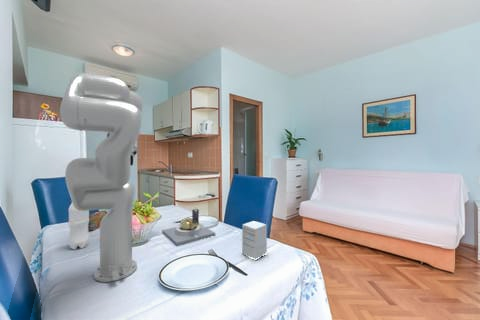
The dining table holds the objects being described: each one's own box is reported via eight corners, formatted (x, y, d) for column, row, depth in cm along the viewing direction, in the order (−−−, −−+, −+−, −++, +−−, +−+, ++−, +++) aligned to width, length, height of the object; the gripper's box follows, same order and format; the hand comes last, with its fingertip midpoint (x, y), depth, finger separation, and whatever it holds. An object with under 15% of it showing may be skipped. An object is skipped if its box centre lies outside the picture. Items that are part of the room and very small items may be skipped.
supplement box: (253, 249, 89) (253, 220, 89) (267, 255, 84) (267, 224, 83) (241, 254, 84) (241, 224, 83) (255, 261, 78) (255, 228, 78)
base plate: (215, 235, 103) (215, 228, 103) (176, 246, 91) (176, 238, 91) (197, 225, 119) (197, 219, 119) (162, 232, 107) (162, 226, 107)
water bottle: (67, 246, 89) (67, 189, 89) (87, 242, 95) (87, 188, 94) (70, 252, 85) (69, 191, 84) (91, 246, 90) (91, 189, 89)
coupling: (203, 234, 100) (203, 209, 100) (190, 238, 96) (190, 211, 95) (190, 226, 111) (190, 204, 111) (178, 229, 107) (178, 205, 107)
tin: (90, 232, 107) (90, 216, 107) (84, 232, 107) (84, 216, 107) (108, 223, 122) (108, 209, 122) (103, 223, 122) (103, 209, 122)
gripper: (103, 124, 82) (103, 166, 83) (142, 129, 97) (142, 165, 97) (93, 125, 86) (93, 166, 86) (133, 130, 101) (133, 164, 101)
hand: (119, 165), depth 92 cm, fingers open, 9 cm apart
